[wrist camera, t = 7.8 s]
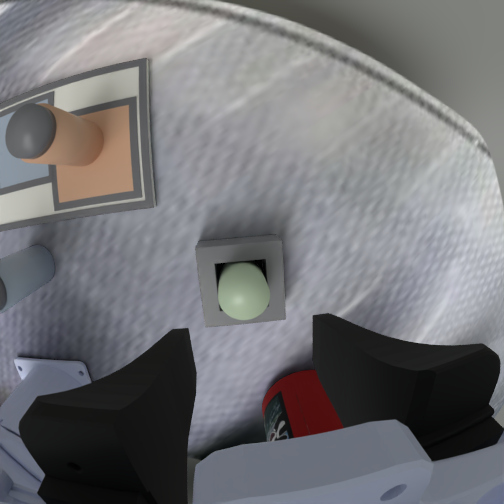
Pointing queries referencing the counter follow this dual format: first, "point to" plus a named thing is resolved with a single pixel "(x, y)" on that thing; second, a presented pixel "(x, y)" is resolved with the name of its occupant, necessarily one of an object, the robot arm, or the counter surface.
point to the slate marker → (24, 274)
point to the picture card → (97, 173)
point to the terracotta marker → (52, 136)
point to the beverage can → (298, 408)
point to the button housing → (233, 252)
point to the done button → (243, 290)
